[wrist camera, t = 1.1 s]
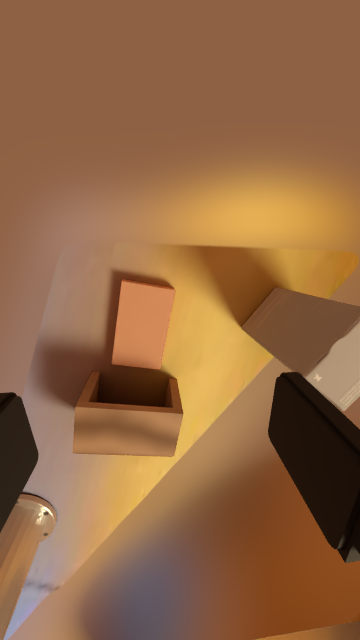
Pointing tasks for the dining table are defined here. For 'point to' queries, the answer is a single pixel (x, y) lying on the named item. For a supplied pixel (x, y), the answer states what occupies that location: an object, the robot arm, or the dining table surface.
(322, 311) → the skincare box
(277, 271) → the dining table surface
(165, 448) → the tan open box
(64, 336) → the dining table surface
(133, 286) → the terracotta tile
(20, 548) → the robot arm
